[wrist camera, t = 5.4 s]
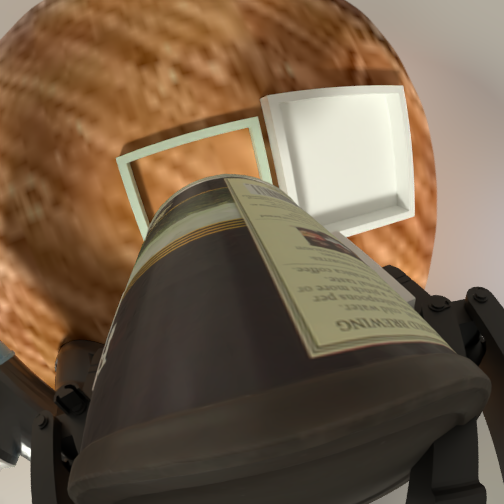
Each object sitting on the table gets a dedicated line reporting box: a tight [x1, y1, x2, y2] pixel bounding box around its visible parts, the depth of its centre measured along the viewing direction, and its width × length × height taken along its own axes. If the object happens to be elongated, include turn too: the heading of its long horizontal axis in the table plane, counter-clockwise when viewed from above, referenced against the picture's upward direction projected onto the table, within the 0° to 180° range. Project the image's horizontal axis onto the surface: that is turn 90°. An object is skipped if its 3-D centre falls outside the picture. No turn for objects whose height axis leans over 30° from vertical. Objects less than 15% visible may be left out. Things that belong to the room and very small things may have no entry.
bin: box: [260, 85, 415, 237], centre depth 31 cm, size 18×18×4 cm
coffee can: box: [67, 174, 492, 504], centre depth 11 cm, size 10×10×14 cm
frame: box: [116, 116, 273, 240], centre depth 31 cm, size 16×16×2 cm
